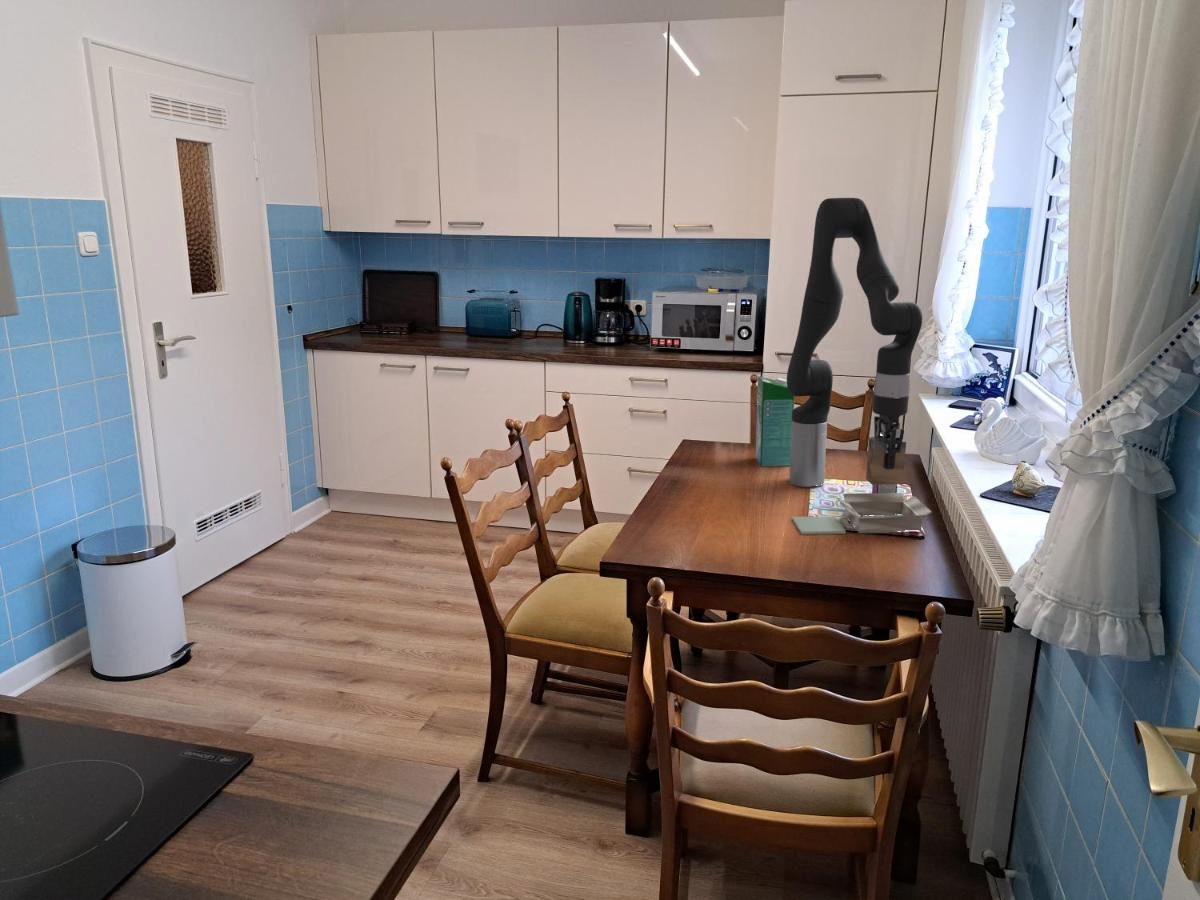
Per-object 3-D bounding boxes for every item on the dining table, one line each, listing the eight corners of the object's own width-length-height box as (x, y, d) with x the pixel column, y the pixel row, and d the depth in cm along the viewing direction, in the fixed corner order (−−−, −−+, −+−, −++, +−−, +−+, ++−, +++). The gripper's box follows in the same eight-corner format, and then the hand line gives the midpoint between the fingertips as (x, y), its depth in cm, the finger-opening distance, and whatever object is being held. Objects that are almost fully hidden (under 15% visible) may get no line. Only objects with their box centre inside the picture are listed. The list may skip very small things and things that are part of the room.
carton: (832, 512, 207) (833, 493, 206) (909, 511, 207) (910, 492, 206) (851, 537, 191) (853, 516, 190) (934, 535, 191) (936, 515, 190)
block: (865, 478, 199) (869, 437, 196) (896, 478, 199) (899, 436, 196) (871, 484, 194) (875, 442, 192) (902, 484, 194) (906, 441, 192)
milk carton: (791, 466, 247) (795, 380, 240) (760, 466, 247) (763, 381, 241) (785, 457, 256) (788, 375, 249) (755, 458, 256) (757, 375, 249)
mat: (792, 519, 203) (792, 516, 203) (834, 518, 203) (834, 516, 203) (801, 534, 193) (801, 531, 193) (845, 533, 193) (845, 531, 193)
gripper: (865, 386, 198) (859, 457, 202) (884, 399, 184) (878, 475, 189) (897, 385, 198) (891, 456, 202) (919, 399, 184) (912, 474, 189)
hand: (885, 465), depth 195 cm, fingers closed on block, 4 cm apart
